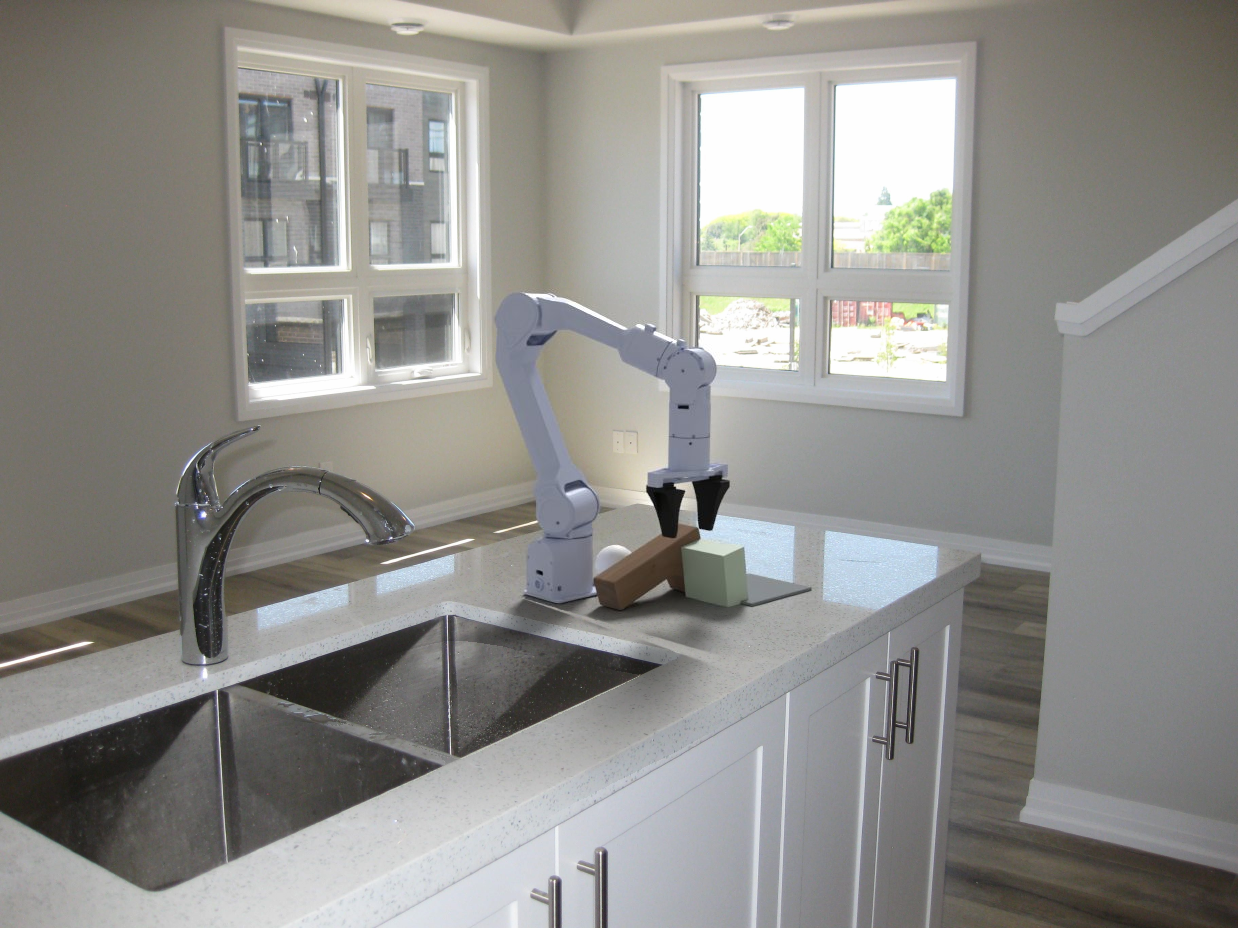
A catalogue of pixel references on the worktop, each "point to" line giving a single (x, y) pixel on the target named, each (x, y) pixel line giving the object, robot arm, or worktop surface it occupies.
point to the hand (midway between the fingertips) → (687, 533)
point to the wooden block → (645, 569)
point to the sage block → (715, 572)
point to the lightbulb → (610, 557)
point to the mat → (769, 589)
